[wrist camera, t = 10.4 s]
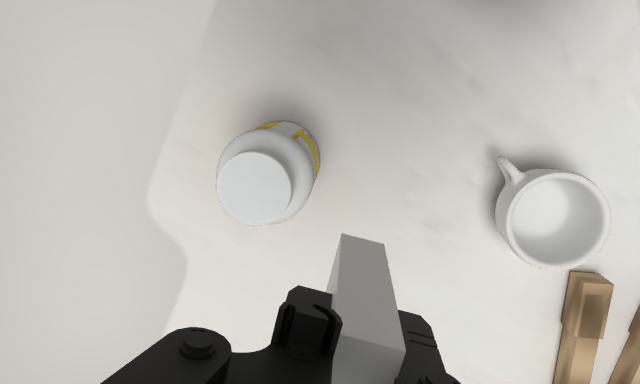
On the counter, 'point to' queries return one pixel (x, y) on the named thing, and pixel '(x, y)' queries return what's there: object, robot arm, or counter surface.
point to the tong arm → (582, 326)
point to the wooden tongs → (629, 357)
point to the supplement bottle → (267, 173)
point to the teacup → (551, 216)
